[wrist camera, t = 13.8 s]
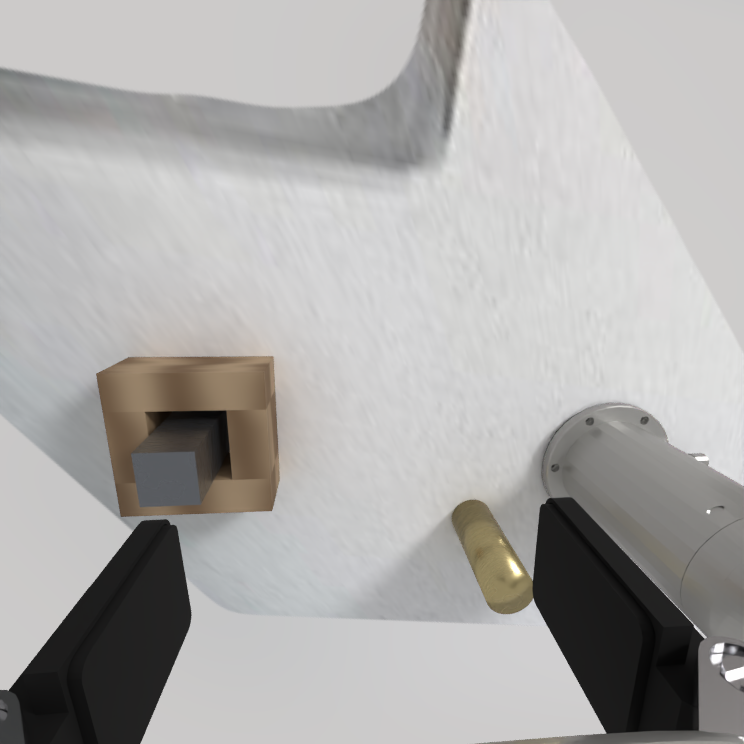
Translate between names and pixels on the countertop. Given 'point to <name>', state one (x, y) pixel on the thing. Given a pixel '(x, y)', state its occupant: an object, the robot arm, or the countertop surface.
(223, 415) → the square bit
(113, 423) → the bore block
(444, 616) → the countertop surface
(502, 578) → the round bit
